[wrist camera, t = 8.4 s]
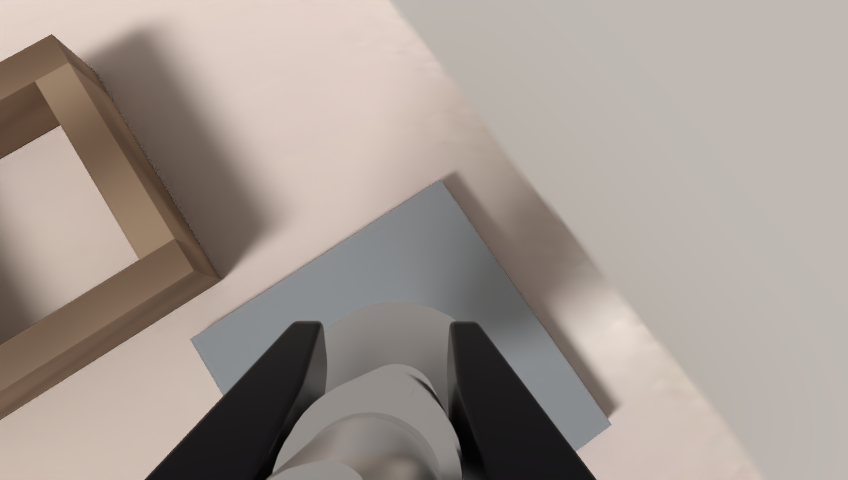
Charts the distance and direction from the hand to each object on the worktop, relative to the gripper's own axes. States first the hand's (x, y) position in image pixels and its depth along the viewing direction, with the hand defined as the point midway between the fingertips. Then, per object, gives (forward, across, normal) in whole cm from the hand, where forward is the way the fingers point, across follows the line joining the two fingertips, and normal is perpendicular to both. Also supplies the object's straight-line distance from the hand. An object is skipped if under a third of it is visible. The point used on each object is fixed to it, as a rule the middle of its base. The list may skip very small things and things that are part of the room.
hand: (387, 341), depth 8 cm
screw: (+4, 0, +6) cm, 7 cm away
